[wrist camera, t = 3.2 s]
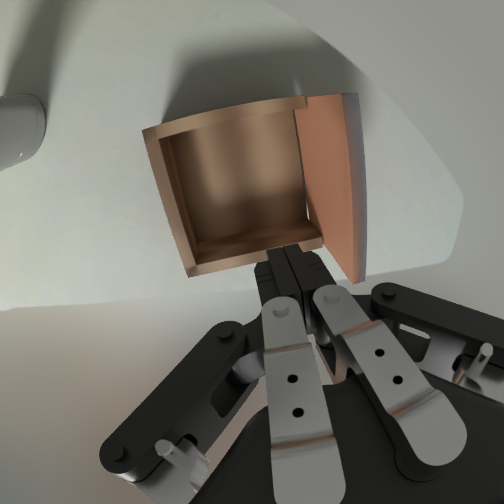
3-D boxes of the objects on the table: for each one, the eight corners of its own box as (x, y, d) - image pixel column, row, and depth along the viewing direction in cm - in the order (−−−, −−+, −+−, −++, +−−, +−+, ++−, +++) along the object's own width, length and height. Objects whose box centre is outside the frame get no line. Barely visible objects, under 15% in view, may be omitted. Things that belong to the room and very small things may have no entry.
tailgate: (310, 225, 32) (352, 284, 22) (292, 99, 25) (341, 93, 14) (319, 223, 32) (365, 280, 22) (303, 98, 25) (357, 93, 14)
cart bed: (193, 242, 35) (188, 277, 28) (160, 125, 27) (141, 130, 20) (301, 218, 35) (322, 247, 28) (283, 98, 27) (304, 95, 20)
